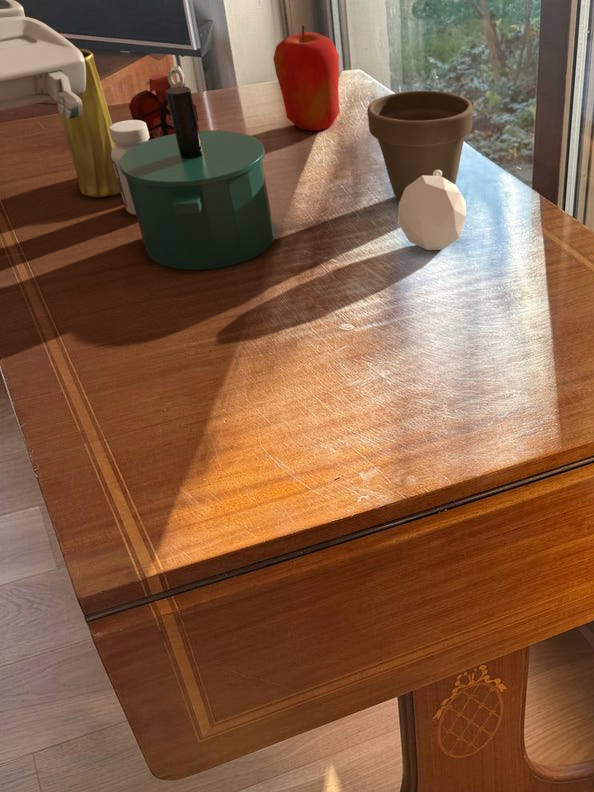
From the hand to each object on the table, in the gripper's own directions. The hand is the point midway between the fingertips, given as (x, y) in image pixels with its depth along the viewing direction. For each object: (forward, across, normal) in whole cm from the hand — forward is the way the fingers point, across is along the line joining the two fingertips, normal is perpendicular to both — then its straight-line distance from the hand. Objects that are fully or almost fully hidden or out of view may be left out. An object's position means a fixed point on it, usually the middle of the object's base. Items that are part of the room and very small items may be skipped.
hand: (33, 120), depth 91 cm
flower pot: (+20, +37, +7) cm, 42 cm away
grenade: (-14, +30, +19) cm, 38 cm away
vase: (-12, +18, +19) cm, 29 cm away
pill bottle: (-4, +17, +16) cm, 24 cm away
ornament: (+28, +27, +4) cm, 40 cm away
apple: (-8, +48, +15) cm, 51 cm away
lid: (+6, +14, +4) cm, 16 cm away
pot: (+9, +14, +12) cm, 21 cm away
